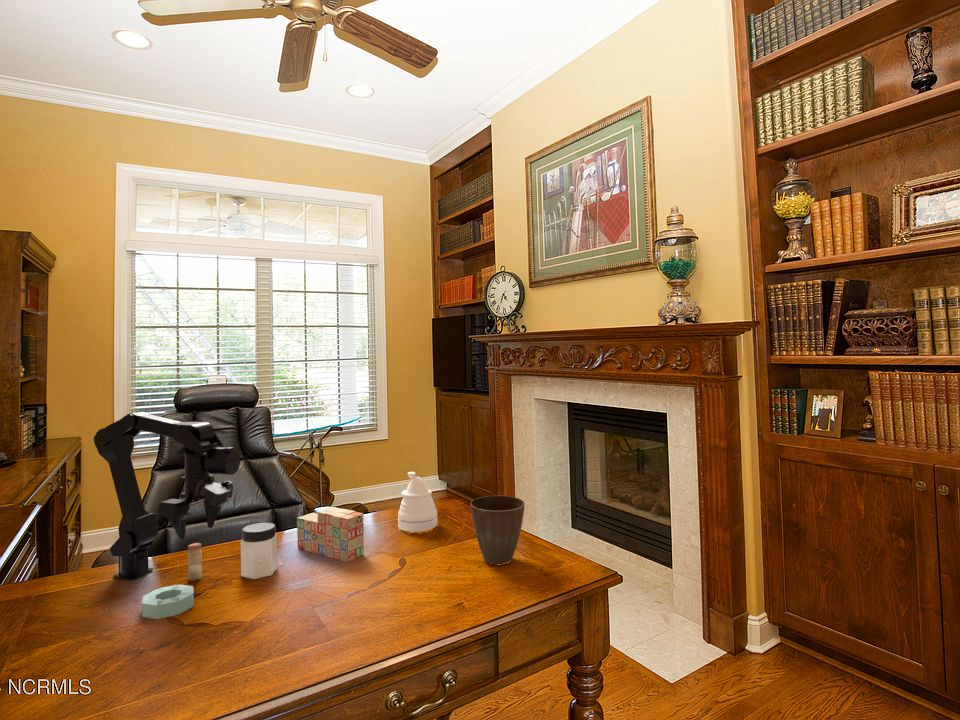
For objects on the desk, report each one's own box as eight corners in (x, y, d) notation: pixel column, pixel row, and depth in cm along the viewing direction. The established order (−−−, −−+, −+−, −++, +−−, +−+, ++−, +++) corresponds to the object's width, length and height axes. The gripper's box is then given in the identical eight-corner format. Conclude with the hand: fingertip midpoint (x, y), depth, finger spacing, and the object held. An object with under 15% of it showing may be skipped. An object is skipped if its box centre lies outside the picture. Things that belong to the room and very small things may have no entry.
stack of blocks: (296, 548, 158) (296, 507, 158) (313, 542, 164) (313, 502, 164) (348, 562, 147) (347, 518, 147) (364, 555, 152) (363, 512, 152)
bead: (131, 615, 118) (131, 601, 118) (169, 595, 128) (169, 583, 128) (168, 620, 115) (167, 607, 115) (203, 600, 125) (203, 587, 125)
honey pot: (392, 532, 171) (392, 476, 171) (405, 520, 184) (404, 468, 184) (431, 534, 169) (431, 477, 169) (441, 522, 182) (440, 469, 182)
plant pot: (536, 562, 145) (536, 503, 145) (492, 576, 136) (491, 513, 136) (503, 547, 157) (503, 492, 157) (460, 558, 149) (460, 501, 149)
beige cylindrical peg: (185, 579, 137) (185, 546, 137) (195, 575, 140) (194, 542, 140) (195, 581, 136) (194, 547, 136) (204, 576, 139) (204, 543, 139)
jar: (244, 582, 135) (243, 534, 135) (238, 571, 142) (237, 526, 141) (281, 573, 140) (280, 528, 140) (273, 564, 147) (273, 520, 146)
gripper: (193, 483, 126) (193, 549, 126) (249, 467, 144) (248, 525, 144) (156, 479, 129) (155, 544, 129) (215, 464, 147) (214, 521, 147)
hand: (196, 533), depth 137 cm, fingers open, 9 cm apart
